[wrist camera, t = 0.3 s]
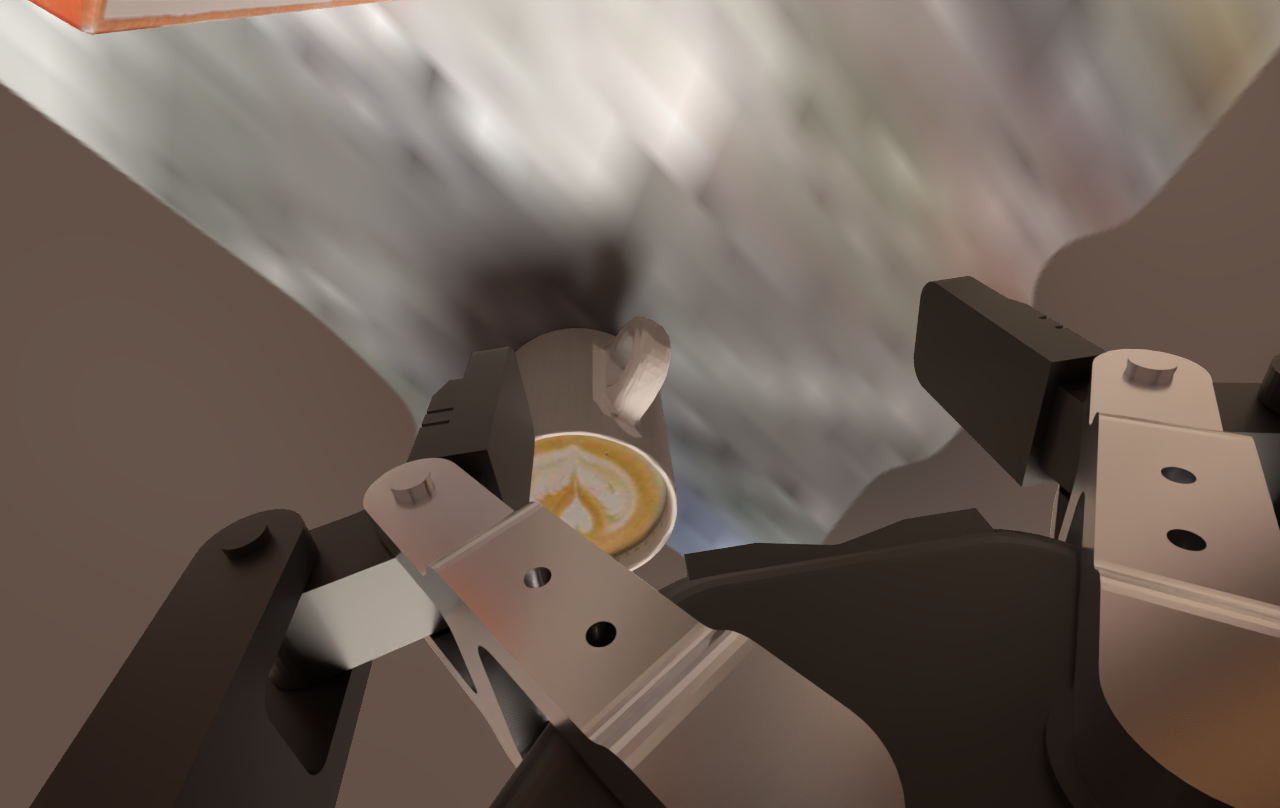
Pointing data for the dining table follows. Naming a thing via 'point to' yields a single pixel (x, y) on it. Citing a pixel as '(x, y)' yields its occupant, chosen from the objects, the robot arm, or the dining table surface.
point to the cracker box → (171, 11)
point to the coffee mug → (603, 435)
